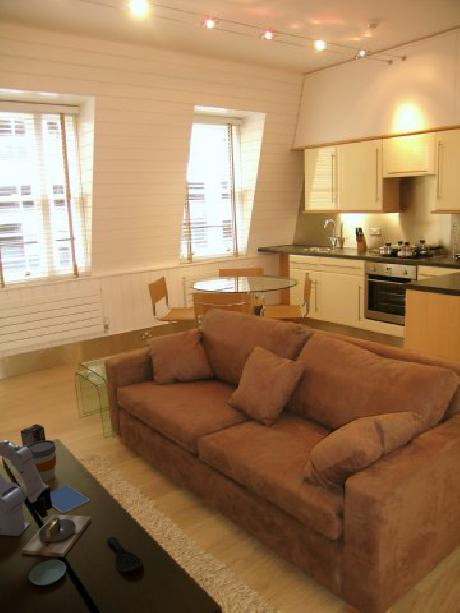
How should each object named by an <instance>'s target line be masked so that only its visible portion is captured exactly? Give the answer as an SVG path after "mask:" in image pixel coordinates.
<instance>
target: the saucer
mask: <svg viewBox="0 0 460 613" xmlns="http://www.w3.org/2000/svg"><path fill="white" fill-rule="evenodd" d="M66 570H67V565H66V563H65V562H63V561H62V560H57V559H51V560H45V561H42V562H40V563H38V564H37V565H36V566H34V567H33V568H32V569H31V570H30V572H29V574H28V579H29V581H30V582H31V583H33V584H34V585H37V586H49V585H52V584H54V583H56V582H57V581H59V580H60V579H61V578H62V577H63V576H64V574H65V573H66Z"/></svg>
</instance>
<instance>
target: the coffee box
mask: <svg viewBox="0 0 460 613" xmlns="http://www.w3.org/2000/svg"><path fill="white" fill-rule="evenodd" d="M20 436H21V442H22V443H21V444H22V446H25V445H26V446H29V445H30V444H32V443H34V442H37V441H42V440H47V439H46V433H45V427H44V426H43V425H40V424H36V423H35V424H33V425H31V426H29V427H26V428H24V429H22V430H20Z"/></svg>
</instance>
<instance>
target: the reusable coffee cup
mask: <svg viewBox="0 0 460 613" xmlns="http://www.w3.org/2000/svg"><path fill="white" fill-rule="evenodd" d="M28 447H30V448H31V449H32V451H33V453H34V457H33V459H32V460H33V462H34V464H35V466H36V468H37V471H38V473H39V475H40V477H41V479H42V481H43V482H47V481H50V480H52V479H53V478H55V476H56V465H57V454H56V450H57V449H56V448H57V447H56V445H55V441H53V440H51V439H50V440H49V439H46V440H42V441H37V442H34V443H32V444H30V445H29V446H28ZM51 478H52V479H51ZM49 479H50V480H49ZM46 480H47V481H46Z"/></svg>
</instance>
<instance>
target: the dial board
mask: <svg viewBox="0 0 460 613" xmlns="http://www.w3.org/2000/svg"><path fill="white" fill-rule="evenodd" d="M54 518H60V519H68V520H71V521H73V522H74V523H75V526H76V530H75V532H74V533H73V535H71V536H70V537H69V538H67V539H65V540H63V541H60V542H55V543H46V542H43V541H42V540H41V539H40V538H39V531H40V530H41V528H42V527H43V526H45V525H46V524H48V523H50V522H52V520H53V519H54ZM91 521H92V517H91V516H85V515H84V516H83V515H68V514H58V513H57V514H55V513H54V514H52V515H51V516H50V517H49V518H48V520H46V522H45V523H44V524H43V525H42V527H40V529H38V531H37V532H36V533H35V534H34V535H33V537H32V538H31V539H30V540H29V541H28V542H27V543H26V544H25V545H24V547H22V549H21V552H22V554H23V555H35V556H47V557H58V558H61V557H62V558H64V557H65V556H66V554H68V551H70V549H71V548H72V547H73V546H74V544H75V543H76V542H77V540H78V539H79V537H80V536H81V535H82V533H83V532H84V530H85V529H86V528H87V527H88V525H89V524H90V523H91Z"/></svg>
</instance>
